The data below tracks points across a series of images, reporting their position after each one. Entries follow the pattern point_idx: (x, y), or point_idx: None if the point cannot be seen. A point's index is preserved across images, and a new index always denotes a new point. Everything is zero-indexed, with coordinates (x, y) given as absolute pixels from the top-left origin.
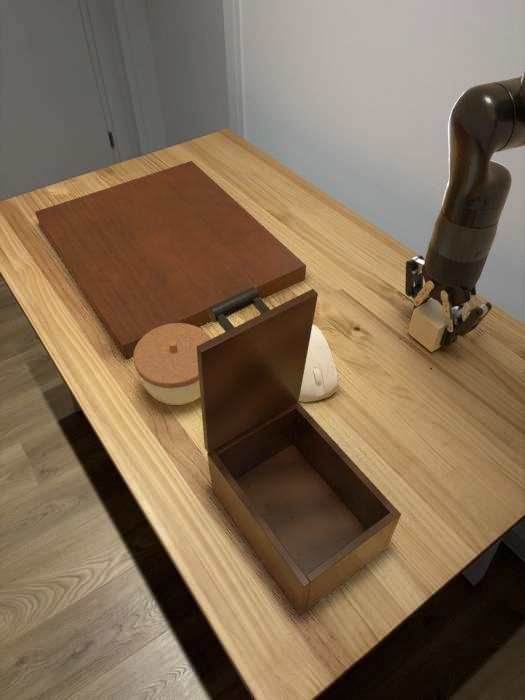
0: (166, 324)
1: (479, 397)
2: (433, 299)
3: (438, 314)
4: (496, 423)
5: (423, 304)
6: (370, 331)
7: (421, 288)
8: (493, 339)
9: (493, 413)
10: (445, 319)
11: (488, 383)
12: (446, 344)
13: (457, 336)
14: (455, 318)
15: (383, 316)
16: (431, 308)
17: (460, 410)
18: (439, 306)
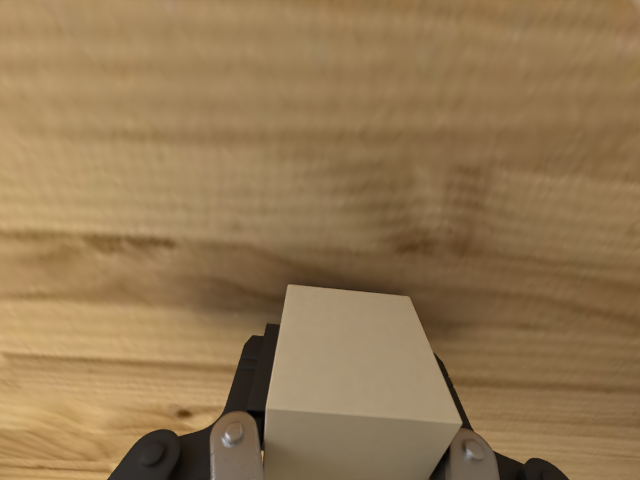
0: None
1: (555, 384)
2: (273, 434)
3: (360, 473)
4: (612, 407)
5: (267, 471)
6: (211, 401)
7: (174, 472)
8: (539, 179)
9: (600, 395)
10: (403, 475)
11: (568, 343)
12: None
13: (453, 388)
14: (445, 467)
15: (180, 351)
16: (311, 470)
17: (521, 425)
18: (330, 446)
